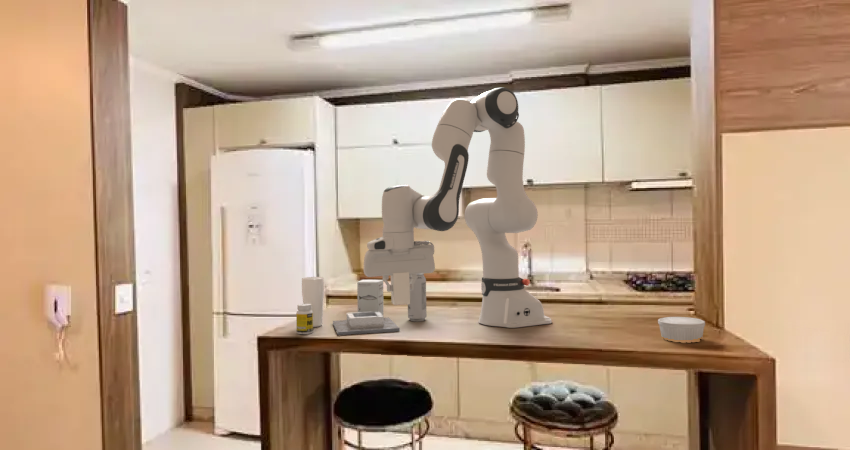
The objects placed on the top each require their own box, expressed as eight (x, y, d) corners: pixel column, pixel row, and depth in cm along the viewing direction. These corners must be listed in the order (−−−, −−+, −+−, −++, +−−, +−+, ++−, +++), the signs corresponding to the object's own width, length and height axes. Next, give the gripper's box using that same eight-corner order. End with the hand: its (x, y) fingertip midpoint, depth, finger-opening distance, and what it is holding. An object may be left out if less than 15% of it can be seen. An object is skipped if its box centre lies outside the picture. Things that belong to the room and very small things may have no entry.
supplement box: (357, 320, 185) (356, 281, 184) (363, 316, 192) (362, 279, 192) (379, 320, 183) (378, 281, 183) (384, 316, 191) (383, 279, 190)
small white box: (406, 301, 163) (405, 270, 163) (410, 304, 159) (409, 272, 159) (391, 302, 162) (390, 271, 162) (394, 305, 158) (393, 273, 157)
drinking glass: (314, 323, 181) (313, 276, 181) (329, 325, 177) (328, 277, 177) (298, 326, 176) (297, 278, 175) (313, 328, 172) (312, 279, 171)
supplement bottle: (309, 334, 163) (308, 305, 163) (293, 334, 164) (293, 305, 164) (315, 331, 168) (315, 303, 168) (300, 331, 169) (300, 303, 169)
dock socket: (388, 320, 183) (388, 308, 183) (399, 331, 166) (399, 317, 165) (332, 324, 179) (332, 311, 179) (337, 335, 161) (337, 321, 161)
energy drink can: (410, 318, 187) (409, 272, 186) (428, 318, 186) (427, 272, 185) (406, 321, 181) (405, 274, 181) (424, 321, 180) (423, 274, 179)
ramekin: (649, 338, 152) (648, 318, 152) (679, 334, 156) (679, 315, 156) (683, 346, 141) (682, 325, 141) (714, 342, 146) (714, 321, 146)
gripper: (431, 239, 165) (432, 286, 166) (361, 243, 161) (363, 291, 161) (436, 240, 159) (438, 289, 160) (364, 244, 154) (366, 294, 155)
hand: (400, 290), depth 160 cm, fingers closed on small white box, 4 cm apart
